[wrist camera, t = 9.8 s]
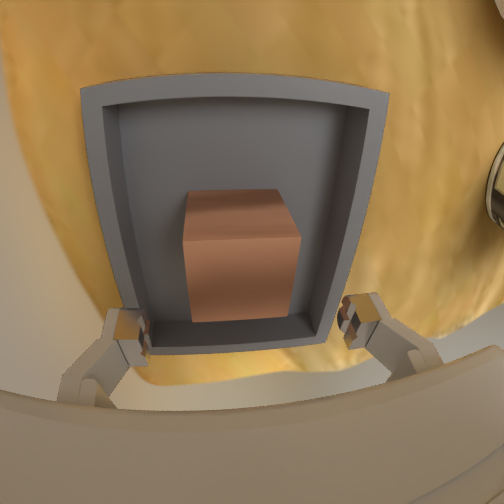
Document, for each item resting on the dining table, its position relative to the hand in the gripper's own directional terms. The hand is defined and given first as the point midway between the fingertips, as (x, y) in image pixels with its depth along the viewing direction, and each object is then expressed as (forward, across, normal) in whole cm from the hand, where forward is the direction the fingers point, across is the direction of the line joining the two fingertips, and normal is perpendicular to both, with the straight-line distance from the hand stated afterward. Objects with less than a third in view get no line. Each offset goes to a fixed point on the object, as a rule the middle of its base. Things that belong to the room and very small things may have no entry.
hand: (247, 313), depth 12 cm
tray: (+8, 0, +1) cm, 8 cm away
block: (+7, 0, +1) cm, 7 cm away
